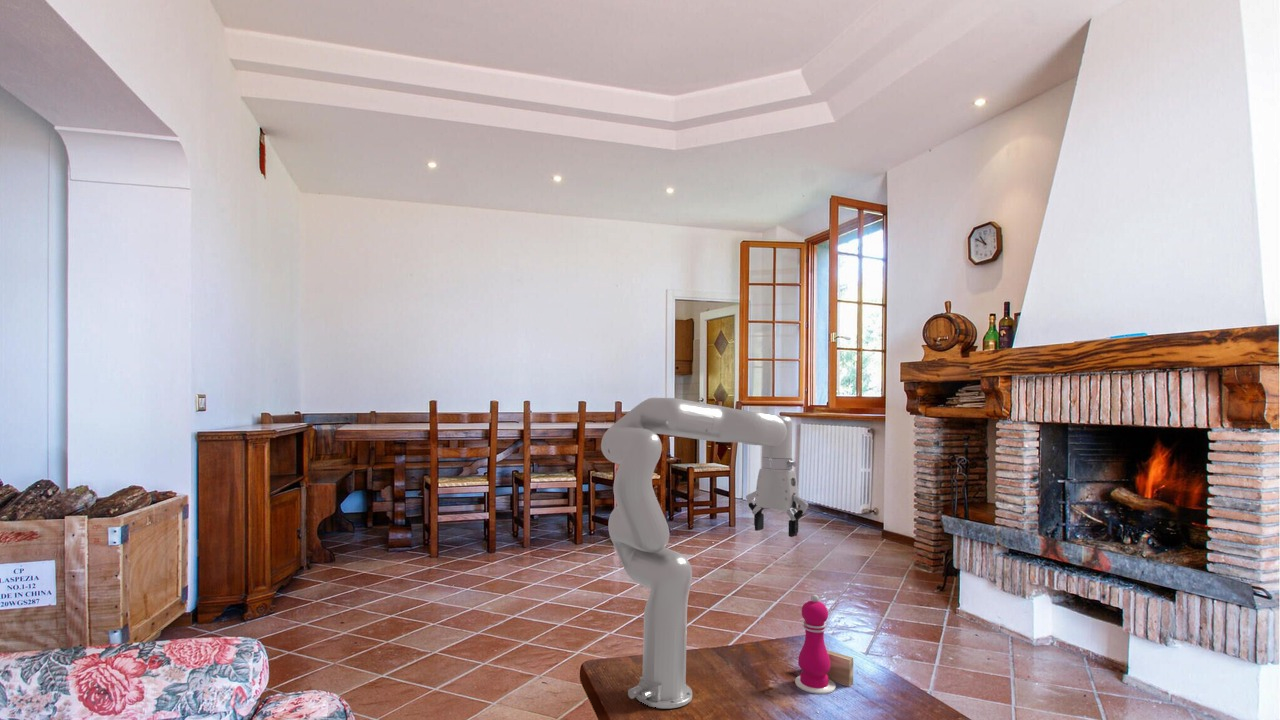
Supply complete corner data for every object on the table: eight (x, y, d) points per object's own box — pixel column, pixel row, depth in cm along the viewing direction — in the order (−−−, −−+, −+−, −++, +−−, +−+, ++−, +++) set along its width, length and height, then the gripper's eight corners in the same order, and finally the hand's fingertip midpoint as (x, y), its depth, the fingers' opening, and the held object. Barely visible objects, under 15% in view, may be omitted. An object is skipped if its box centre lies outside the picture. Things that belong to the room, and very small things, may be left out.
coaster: (824, 697, 144) (824, 695, 144) (788, 685, 150) (788, 682, 150) (842, 685, 151) (842, 682, 151) (806, 673, 157) (806, 671, 157)
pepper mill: (818, 692, 146) (818, 601, 147) (791, 681, 151) (792, 593, 152) (836, 684, 150) (837, 595, 151) (810, 673, 156) (811, 588, 157)
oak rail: (849, 686, 150) (849, 660, 151) (802, 671, 158) (802, 645, 159) (853, 684, 152) (853, 657, 152) (806, 668, 160) (806, 643, 160)
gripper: (815, 466, 162) (814, 536, 161) (755, 460, 173) (754, 525, 172) (800, 468, 156) (799, 540, 155) (739, 462, 168) (738, 529, 167)
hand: (775, 532), depth 164 cm, fingers open, 9 cm apart
